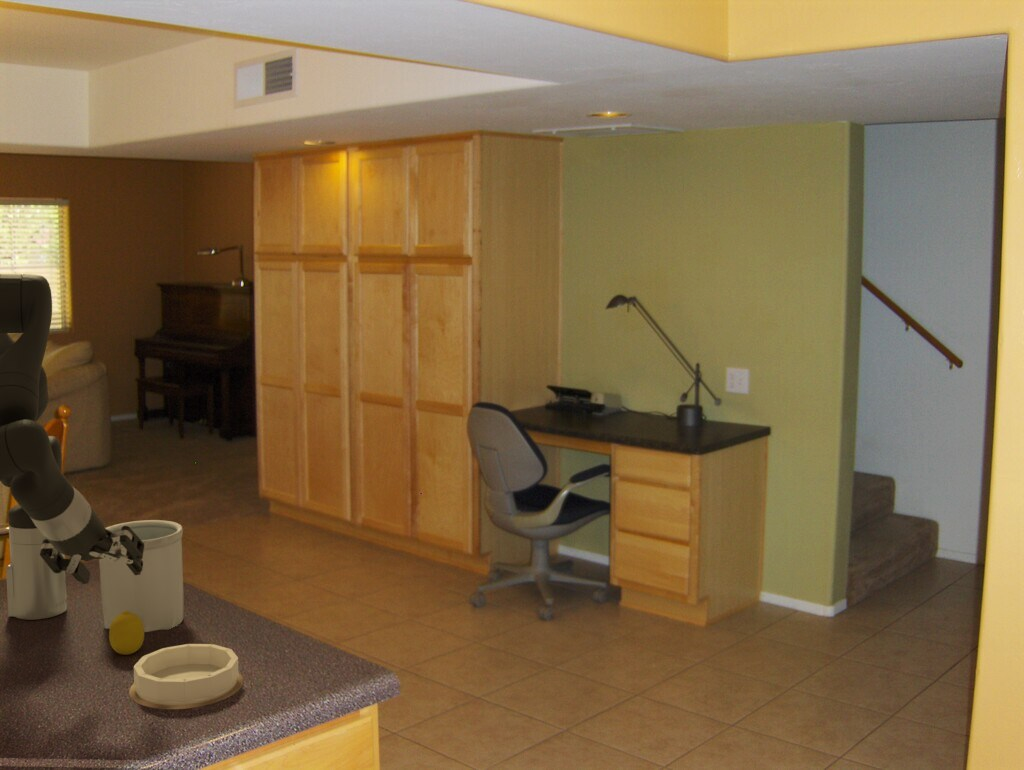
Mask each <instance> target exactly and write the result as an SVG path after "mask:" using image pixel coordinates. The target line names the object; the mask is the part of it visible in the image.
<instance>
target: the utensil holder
mask: <svg viewBox="0 0 1024 770" xmlns="http://www.w3.org/2000/svg"><path fill="white" fill-rule="evenodd" d="M123 526H128V527H130V528H131V529H132V531H133V532H134V533H135V534H136V535H137V536H138V537H139V538H140V540H141V541H142V542H143V543H144V544H145V546H144V552H143V558H142V559H141V560H142V561H143V569H142V571H141V574H140V575H134V573H133V572H132V571H131V570H130V568H129V567H128V566H127V565H126V563H124V562H121V561H119V560H117V561H115V562H113V561H110V560H107V559H104V558H103V559H98V563H99V565H98V566H99V578H100V593H101V605H102V606H101V607H102V614H103V625H104V628H105V630H106V629H107V630H110V626H111V623H112V621H113V620H114V619H115V617H117V616H118V615H119V614H122V613H123V612H124V611H128V612H130V613H134V614H135V615H137V616H138V617H139V618H140V619H141V621H142V623H143V627H144V633H148V632H156V631H159V630H169V629H170V630H171V628H172V629H174V628H175V626H176V627H178V626H179V625H180V624H181V623H182V622H183V620H184V578H183V577H184V576H183V575H184V574H183V571H184V570H183V543H182V537H183V533H184V532H183V526H182V525H181V524H180V523H179V522H178V523H177V522H175V521H171V520H170V521H169V520H162V519H161V520H160V519H149V520H148V519H145V520H135V521H127V522H122V523H118V524H113V525H110V526H107V527H105V528H106V529H107V530H109V531H111V532H112V533H115V532H119V531H121V529H122V527H123ZM113 549H114V546H113V545H112V546H111V549H110V551H109V552H110V553H112V554H113ZM121 554H123V555H126V552H125V551H122V550H121ZM178 624H179V625H178ZM173 627H174V628H173Z"/></svg>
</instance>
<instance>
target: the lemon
mask: <svg viewBox="0 0 1024 770" xmlns="http://www.w3.org/2000/svg"><path fill="white" fill-rule="evenodd" d="M108 633H109V635H108V638H109V644H110V646H111V648H112V649H113V650H114V652H116V653H117V654H119V655H123V656H128V655H132V654H134V653H136V652H138V650H139V649H140V648H141V647H142V645H143V643H144V640H145V632H144V627H143V623H142V621H141V619H140V618H139V617H138V616H137V615H135V614H134V613H130V612H128V611H124V612H123V613H122V614H119V615H118V616H117V617H115V619H114V620H113V621H112V623H111V626H110V629H109V632H108Z"/></svg>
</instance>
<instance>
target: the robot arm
mask: <svg viewBox="0 0 1024 770" xmlns="http://www.w3.org/2000/svg"><path fill="white" fill-rule="evenodd" d="M50 285H51V284H50V283H49V281H48V280H47V278H46V277H45V276H42V275H38V274H32V273H31V274H30V273H23V274H22V273H0V483H1V484H2V485H3V486H5V487H6V488H9V489H10V494H11V496H12V497H13V499H14V500H15V502H16V503H17V504H16V505H14V506H12V507H11V508H10V509H9V511H8V513H7V521H8V537H9V555H10V564H7V566H6V567H5V572H6V573H5V574H6V576H5V577H6V591H7V593H6V595H7V613H8V614H7V615H8V617H14V618H16V619H18V620H19V619H20V620H28V621H29V620H32V621H33V620H41V619H42V620H43V619H48V618H52V617H56V616H59V615H61V614H63V613H65V612H66V611H67V608H68V606H67V605H68V603H67V601H68V600H67V598H68V597H67V581H66V580H67V579H66V573H67V574H71V575H72V576H73V577H74V579H75V580H76V581H77V582H79V583H80V582H81V584H82V585H86V584H89V582H90V576H91V572H90V570H89V569H88V568H87V567H86V565H84V563H83V562H82V561H84V562H90V561H92V560H99V559H103V558H104V559H107V560H110V561H113V562H115V561H117V560H119V561H121V562H124V563H126V565H127V566H128V567H129V568H130V570H131V571H132V572H133V573H134V575H140V574H141V571H142V569H143V561H142V560H141V559H142V558H143V552H144V546H145V544H144V543H143V542H142V541H141V540H140V538H139V537H138V536H137V535H136V534H135V533H134V532H133V531H132V529H131V528H130V527H128V526H123V527H122V529H121V531H119V532H115V533H112V532H111V531H109V530H107V529H106V528H107V527H105V525H104V522H103V521H102V518H101V517H100V515H98V513H97V512H96V511H95V509H94V508H93V507H92V505H91V504H90V503H89V502H88V501H87V500H86V498H85V497H84V496H83V494H82V493H81V492H80V491H79V490H77V488H75V487H74V486H73V485H72V483H71V482H70V481H69V480H68V478H67V477H66V476H65V475H64V474H63V473H62V472H63V471H62V470H63V468H62V467H63V457H62V456H63V454H62V453H63V452H62V446H61V442H60V441H59V439H58V438H57V437H56V436H54V435H48V432H47V429H46V428H44V426H43V425H41V424H40V423H39V422H38V420H39V419H41V417H42V415H43V414H44V413H45V411H46V409H47V407H48V404H49V390H48V389H49V388H48V379H47V378H48V377H47V373H46V370H45V368H44V367H43V361H44V357H45V354H46V350H47V345H48V340H49V339H48V338H49V335H50V332H51V331H50V329H51V325H52V316H53V300H52V299H53V297H52V290H51V286H50ZM9 334H21V335H20V336H19V337H18V339H17V340H14V339H13V338H12V337H11V336H10V335H9ZM112 545H113V546H114V549H113V554H112V553H110V552H109V551H110V549H111V546H112ZM121 550H122V551H125V552H126V555H123V554H121ZM66 556H67V557H68V558H66Z"/></svg>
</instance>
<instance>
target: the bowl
mask: <svg viewBox="0 0 1024 770" xmlns="http://www.w3.org/2000/svg"><path fill="white" fill-rule="evenodd" d="M238 672H239V657H238V656H237V654H236V653H235V652H234V651H233V649H232V648H228V647H224V646H222V645H218V644H214V643H212V644H211V643H186V644H180V645H174V646H168V647H163V648H160V649H158V650H155V651H152V652H149V653H147V654H144V655H143V656H141V657H140V659H138V661H137V662H136V663H135V664H134V666H133V684H134V686H135V687H136V693H137V696H138V697H139V698H140V699H142V700H143V701H145V702H148V703H151V704H156V705H163V706H186V705H193V704H199V703H204V702H208V701H211V700H214V699H217V698H219V697H221V696H223V695H225V694H227V693H229V692H230V691H231V690H232V689H233V688H234V687H235V686H236V684H237V678H238V676H239V673H240V672H239V673H238Z"/></svg>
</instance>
